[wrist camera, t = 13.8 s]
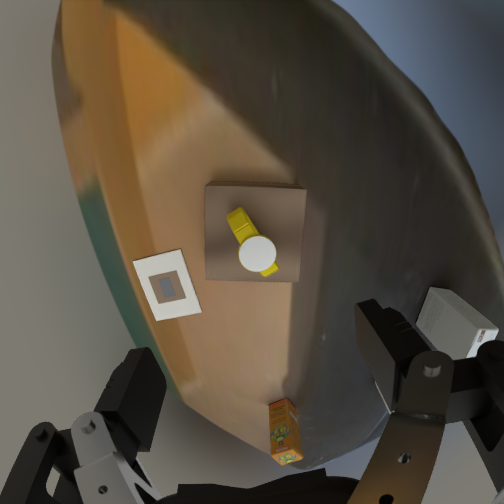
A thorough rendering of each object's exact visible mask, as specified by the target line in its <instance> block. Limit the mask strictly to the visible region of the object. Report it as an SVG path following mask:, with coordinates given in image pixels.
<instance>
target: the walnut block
mask: <svg viewBox="0 0 504 504" xmlns="http://www.w3.org/2000/svg"><path fill="white" fill-rule="evenodd" d="M306 192H307V190H306V189H305V188H303V187H301V186H300V185H297V184H280V183H259V182H228V181H211V182H210V183H208V184H207V185H206V186H205V270H206V280H223V281H255V282H299V272H300V262H301V252H302V241H303V230H304V218H305V205H306ZM239 207H241V208H242V209H243V210H244V211H245V213H246V214H247V215H248V217H249V218H250V220H251V221H252V223H253V225H254V226H255V228H256V229H257V231H258V232H259V234H261V235H265V236H266V237H268V238H270V240H271V241H272V242H273V244H274V246H275V248H276V258H275V260H276V262H277V264H278V266H279V270H277V271H276V272H274V273H273V274H271V275H269V276H268V277H264V276H262V275H261V273H260V272H253V271H249V270H248V269H246V268H244V266H243V265H242V264H241V262H240V260H239V256H238V249H239V246H240V243H239V242H238V240H237V238H236V237H235V235H234V233H233V231H232V229H231V227H230V225H229V223H228V220H227V215H228V214H229V213H231V212H232V211H234V210H236V209H237V208H239Z"/></svg>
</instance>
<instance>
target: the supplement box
mask: <svg viewBox="0 0 504 504" xmlns="http://www.w3.org/2000/svg"><path fill="white" fill-rule="evenodd" d="M269 424H270V443H271V456H272V457H273V458H274V459H275V460H276V461H277V462H278V463H280V464H281V465H285V464H286V463H290V462H293V461H296V460H301V459H302V458H303V453H302V447H301V440H300V433H299V427H298V420H297V414H296V409H295V407H294V406H293V405H292V404H291V402H290V401H289V400H288V399H287V398H285V399H283V400H280V401H278V402H275V403H273V404H270V405H269Z"/></svg>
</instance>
